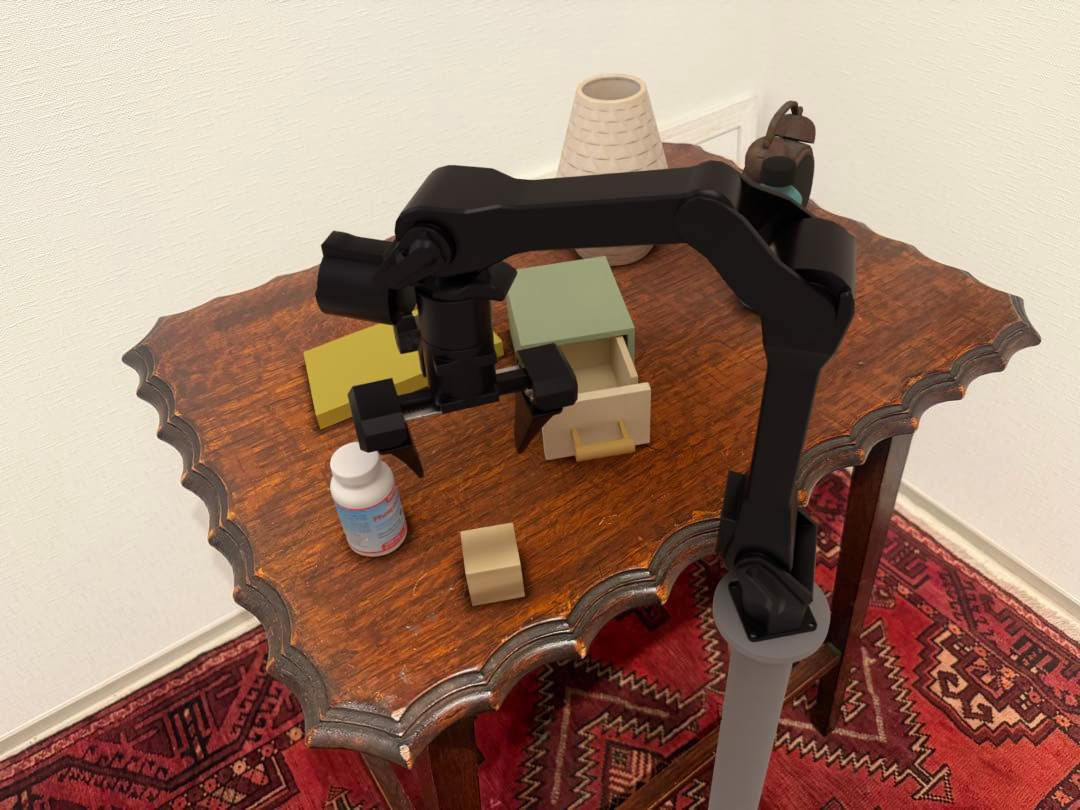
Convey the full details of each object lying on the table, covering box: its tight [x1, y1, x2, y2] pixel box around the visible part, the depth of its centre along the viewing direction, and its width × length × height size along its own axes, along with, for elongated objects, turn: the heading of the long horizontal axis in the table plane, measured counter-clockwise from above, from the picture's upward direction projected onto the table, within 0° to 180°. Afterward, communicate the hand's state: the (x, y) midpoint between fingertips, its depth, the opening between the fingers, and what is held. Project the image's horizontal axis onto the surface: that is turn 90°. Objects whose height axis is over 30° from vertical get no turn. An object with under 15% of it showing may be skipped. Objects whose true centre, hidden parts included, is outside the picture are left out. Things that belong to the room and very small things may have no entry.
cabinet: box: [505, 256, 636, 368], centre depth 103 cm, size 15×13×10 cm
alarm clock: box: [741, 100, 817, 209], centre depth 115 cm, size 15×7×20 cm, turn 147°
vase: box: [555, 73, 670, 267], centre depth 116 cm, size 17×17×23 cm
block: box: [459, 522, 526, 607], centre depth 81 cm, size 5×5×5 cm
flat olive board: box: [303, 309, 505, 430], centre depth 107 cm, size 12×2×24 cm
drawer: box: [541, 335, 652, 463], centre depth 94 cm, size 18×11×8 cm, turn 9°
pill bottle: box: [329, 441, 408, 558], centre depth 84 cm, size 6×6×11 cm
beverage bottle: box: [738, 156, 802, 310], centre depth 105 cm, size 6×7×20 cm
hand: (470, 462), depth 79 cm, fingers open, 9 cm apart
